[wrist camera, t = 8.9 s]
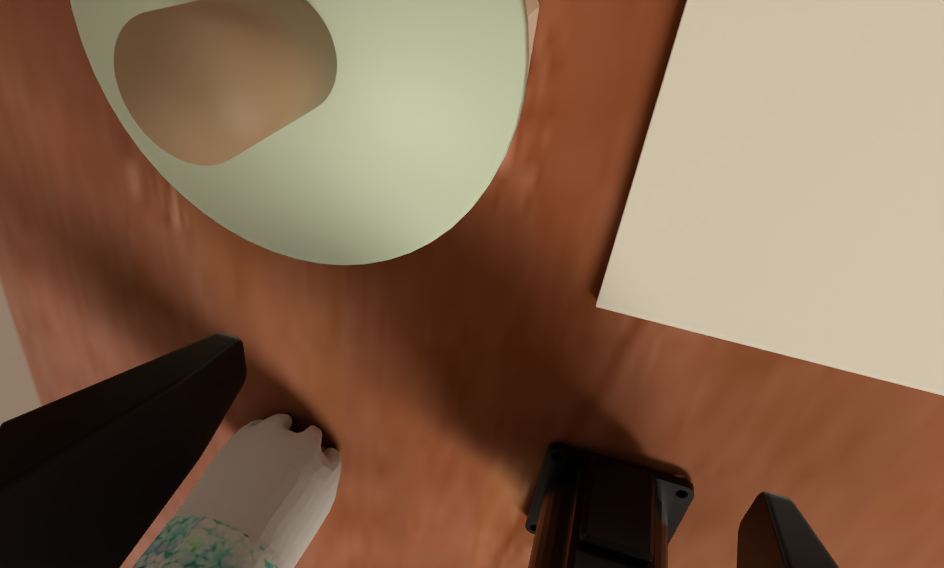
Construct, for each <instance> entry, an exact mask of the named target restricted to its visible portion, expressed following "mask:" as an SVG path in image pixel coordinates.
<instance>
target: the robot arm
mask: <svg viewBox="0 0 944 568" xmlns="http://www.w3.org/2000/svg"><path fill="white" fill-rule="evenodd" d="M246 374H247V369H246V362H245V355H244V347H243V342H242V341H241V339H239V338H238V337H234V336H231V335H227V334H224V333H217V334H214V335H211V336H209V337H206V338H204V339H202V340H199V341H197V342H195V343H192V344H190V345H187V346H185V347H183V348H180V349H178V350H175V351H173V352H171V353H168V354H166V355H163V356H161V357H159V358H156V359H154V360H152V361H149V362H147V363H144V364H142V365H140V366H137V367H135V368H132V369H130V370H128V371H125V372H123V373H120V374H118V375H116V376H113V377H111V378H108V379H106V380H104V381H101V382H99V383H97V384H94V385H92V386H89V387H87V388H85V389H82V390H80V391H77V392H75V393H73V394H70V395H68V396H65V397H63V398H61V399H58V400H56V401H54V402H51V403H49V404H46V405H44V406H42V407H39V408H37V409H34V410H32V411H30V412H27V413H25V414H22V415H20V416H18V417H15V418H13V419H10V420H8V421H6V422H3V423H2V424H1V426H0V568H120V566H121V565H122V563H123V562H124V561H125V559H126V558H127V557H128V555H129V554H130V553H131V551H132V550H133V548H134V547H135V546H136V544H137V543H138V542H139V540H140V539H141V538H142V536H143V535H144V534H145V532H146V531H147V529H148V528H149V527H150V525H151V524H152V523H153V521H154V520H155V519H156V517H157V516H158V514H159V513H160V512H161V510H162V509H163V508H164V506H165V505H166V504H167V502H168V501H169V499H170V498H171V497H172V495H173V494H174V493H175V491H176V490H177V489H178V487H179V486H180V485H181V483H182V482H183V480H184V479H185V478H186V476H187V475H188V474H189V472H190V471H191V470H192V468H193V467H194V465H195V464H196V463H197V461H198V460H199V458H200V457H201V455H202V454H203V452H204V451H205V449H206V447H207V446H208V444H209V442H210V441H211V439H212V437H213V436H214V434H215V432H216V431H217V429H218V427H219V425H220V424H221V422H222V420H223V419H224V417H225V415H226V413H227V412H228V410H229V408H230V407H231V405H232V403H233V401H234V400H235V398H236V396H237V395H238V393H239V391H240V389H241V388H242V386H243V384H244V382H245V379H246ZM556 453H559V454H556ZM681 490H684V491H681ZM693 498H694V486H693V484H692V483H691V482H690V481H687V480H685V479H682V478H678V477H675V476H671V475H668V474H665V473H661V472H658V471H654V470H651V469H648V468H644V467H641V466H637V465H634V464H631V463H627V462H624V461H620V460H617V459H614V458H610V457H607V456H603V455H600V454H597V453H593V452H590V451H586V450H583V449H579V448H576V447H573V446H569V445H566V444H562V443H558V442H555V443H551V444H549V446H548V447H547V451H546V454H545V458H544V461H543V465H542V468H541V472H540V475H539V478H538V482H537V485H536V489H535V492H534V496H533V499H532V503H531V506H530V509H529V513H528V516H527V520H526V525H525V528H526V529H527V531H529V532H530V533H532V534H535V537H534V542H533V547H532V552H531V556H530V561H529V566H528V568H668V544H669V542H670V540H671V538H672V536H673V534H674V533H675V531H676V529H677V527H678V525H679V523H680V522H681V520H682V518H683V516H684V514H685V512H686V511H687V509H688V507H689V505H690V503H691V501H692V500H693ZM737 568H839V567H838V565H837V564H836V563H835V561H834V560H833V558H832V557H831V555H830V554H829V553H828V551H827V550H826V548H825V547H824V545H823V544H822V542H821V541H820V540H819V538H818V537H817V535H816V534H815V532H814V531H813V530H812V528H811V527H810V525H809V524H808V522H807V521H806V520H805V518H804V517H803V515H802V514H801V512H800V511H799V509H798V508H797V507H796V505H795V504H794V503H793V502H792V501H791V500H790V499H789V498H787V497H784V496H781V495H777V494H774V493H770V492H767V491H764V492H761V493H760V494H759V495H758V496H757V497H756V499H755V500H754V502H753V504H752V505H751V507H750V508H749V510H748V511H747V513H746V514H745V516H744V517H743V519H742V521H741V523H740V526H739V531H738V549H737Z"/></svg>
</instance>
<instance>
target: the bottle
mask: <svg viewBox="0 0 944 568" xmlns="http://www.w3.org/2000/svg"><path fill="white" fill-rule="evenodd" d="M291 425H292V418H291V417H290V416H289V415H286V414H275V415H273V416H271V417H269V418H267V419H265V420H261V419H258V420H254V421H251V422H250V423H248V424H247V425H245V426H243V427H242V428H240V429H239V430H238V431H237V432H236V433H235V434H234V435H233V436H232V437H231V438H230V439H229V441H228V442H227V443H226V444H225V445H224V447H223V448H222V449H221V450H220V452H219V453H218V455H217V456H216V457H215V459H214V460H213V461H212V463H211V464H210V465H209V467H208V468H207V470H206V471H205V473H204V474H203V475H202V477H201V478H200V480H199V481H198V483H197V484H196V486H195V487H194V489H193V490H192V492H191V493H190V495H189V496H188V497H187V499H186V500H185V502H184V503H183V505H182V506H181V507H180V508H179V510H178V511H177V512H176V514H175V515H174V516H173V518H172V519H171V520H170V521H169V522H168V523H167V525H166V526H165V527H164V528H163V530H162V531H161V532H160V533H159V535H158V536H157V537H156V539H155V540H154V541H153V542H152V544H151V545H150V546H149V547H148V549H147V550H146V551H145V552H144V554H143V555H142V556H141V557H140V559H139V560H138V561H137V562H136V564H135V565H134V566H133V567H132V568H294V566H295V565H296V563H297V562H298V560H299V559H300V557H301V556H302V554H303V553H304V551H305V550H306V548H307V547H308V545H309V543H310V542H311V540H312V539H313V537H314V536H315V534H316V533H317V531H318V529H319V528H320V526H321V524H322V523H323V521H324V519H325V518H326V516H327V514H328V513H329V511H330V509H331V507H332V504H333V502H334V500H335V496H336V493H337V489H338V481H339V477H340V473H341V465H342V462H341V457H340V454H339V452H338V451H337V450H336V449H334V448H332V447H331V448H327V449H326V450H325V451H324V452H322V449H321V441H322V431H321V430H320V429H319V428H317V427H316V426H313V425H311V426H309V427H308V428H307V429H306V430H304V431H303V432H299V433H295V432H293V431H290V430H289V429H290V427H291Z"/></svg>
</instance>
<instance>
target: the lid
mask: <svg viewBox="0 0 944 568" xmlns="http://www.w3.org/2000/svg"><path fill="white" fill-rule="evenodd" d="M70 2H71V7H72V12H73V15H74V18H75V22H76V25H77V28H78V32H79V35H80V38H81V42H82V44H83V47H84V49H85V52H86V54H87V57H88V59H89V62H90V64H91V67H92V69H93V72H94V74H95V76H96V78H97V80H98V82H99V84H100V86H101V88H102V90H103V92H104V94H105V96H106V98H107V100H108V102H109V104H110V105H111V107H112V109H113V110H114V112H115V114H116V115H117V117H118V118H119V120H120V122H121V123H122V125H123V127H124V128H125V130H126V131H127V132H128V134H129V135H130V137H131V138H132V139H133V141H134V142H135V143H136V145H137V146H138V148H139V149H140V150H141V152H142V153H143V154H144V155H145V156H146V158H147V159H148V160H149V161H150V162H151V163H152V165H153V166H154V167H155V168H156V169H157V170H158V172H159V173H160V174H161V175H162V176H163V177H164V178H165V179H166V180H167V181H168V182H169V183H170V184H171V185H172V186H173V187H174V188H175V189H176V190H177V191H178V192H179V193H180V194H181V195H182V196H184V197H185V198H186V199H187V200H188V201H190V202H191V203H192V204H193V205H194V206H196V207H197V208H198V209H199V210H200V211H202V212H203V213H204V214H206V215H207V216H209V217H210V218H211V219H213V220H214V221H216V222H217V223H219V224H220V225H222V226H223V227H225V228H226V229H228V230H230V231H231V232H233V233H235V234H237V235H239V236H240V237H242V238H244V239H246V240H248V241H250V242H252V243H254V244H256V245H259V246H261V247H263V248H266V249H268V250H270V251H273V252H276V253H279V254H282V255H285V256H288V257H292V258H295V259H299V260H304V261H309V262H314V263H320V264H333V265H359V264H370V263H375V262H381V261H386V260H390V259H393V258H396V257H399V256H402V255H405V254H408V253H411V252H413V251H415V250H417V249H419V248H421V247H423V246H425V245H427V244H429V243H431V242H433V241H434V240H435V239H437V238H438V237H440V236H441V235H442V234H444V233H445V232H447V231H448V230H449V229H451V228H452V227H453V226H454V225H455V224H456V223H457V222H458V221H459V220H460V219H461V218H462V217H464V216H465V215H466V214H467V213H468V212H469V211H470V210H471V208H472V207H473V206H474V204H475V203H476V202H477V201H478V199H479V198H480V197H481V195H482V194H483V193H484V191H485V190H486V189H487V187H488V186H489V184H490V182H491V181H492V179H493V178H494V176H495V174H496V172H497V170H498V169H499V167H500V165H501V163H502V161H503V159H504V158H505V156H506V154H507V152H508V150H509V147H510V144H511V142H512V139H513V136H514V134H515V131H516V129H517V126H518V123H519V119H520V114H521V110H522V106H523V102H524V97H525V93H526V84H527V74H528V64H529V30H528V16H527V9H526V2H525V0H70Z"/></svg>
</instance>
